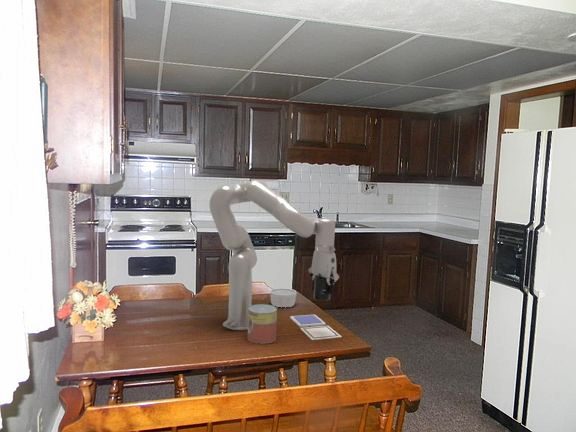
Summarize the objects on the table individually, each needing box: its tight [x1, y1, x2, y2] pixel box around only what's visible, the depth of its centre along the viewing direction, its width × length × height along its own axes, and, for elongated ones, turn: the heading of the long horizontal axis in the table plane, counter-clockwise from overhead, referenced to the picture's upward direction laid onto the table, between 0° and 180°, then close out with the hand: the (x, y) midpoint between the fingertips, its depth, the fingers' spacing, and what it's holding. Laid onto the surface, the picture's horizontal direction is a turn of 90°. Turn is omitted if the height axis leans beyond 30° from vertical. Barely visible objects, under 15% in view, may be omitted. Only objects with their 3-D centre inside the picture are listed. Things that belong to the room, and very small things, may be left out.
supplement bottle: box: [313, 274, 331, 302], centre depth 176 cm, size 7×7×12 cm
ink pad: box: [289, 314, 327, 328], centre depth 191 cm, size 12×12×1 cm
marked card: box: [299, 325, 342, 341], centre depth 178 cm, size 13×13×1 cm
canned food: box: [246, 303, 278, 345], centre depth 170 cm, size 11×11×12 cm
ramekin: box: [269, 287, 298, 309], centre depth 214 cm, size 13×13×7 cm
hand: (322, 291), depth 177 cm, fingers closed on supplement bottle, 6 cm apart
